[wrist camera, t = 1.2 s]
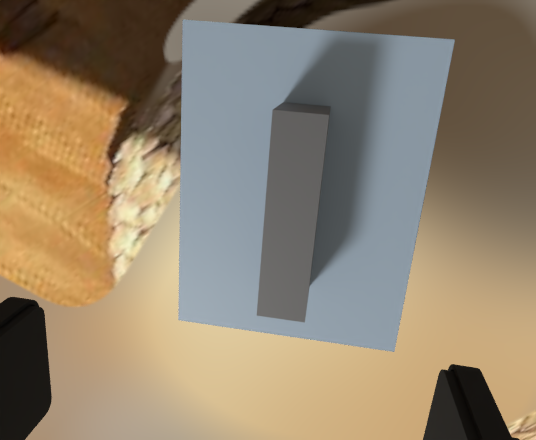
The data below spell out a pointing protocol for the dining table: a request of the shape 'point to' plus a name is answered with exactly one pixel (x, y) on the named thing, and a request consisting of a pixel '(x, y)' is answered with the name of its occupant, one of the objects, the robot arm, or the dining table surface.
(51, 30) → the dining table surface
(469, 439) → the robot arm
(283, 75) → the lid
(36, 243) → the dining table surface
